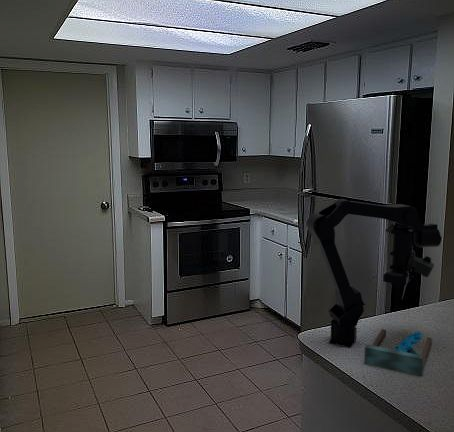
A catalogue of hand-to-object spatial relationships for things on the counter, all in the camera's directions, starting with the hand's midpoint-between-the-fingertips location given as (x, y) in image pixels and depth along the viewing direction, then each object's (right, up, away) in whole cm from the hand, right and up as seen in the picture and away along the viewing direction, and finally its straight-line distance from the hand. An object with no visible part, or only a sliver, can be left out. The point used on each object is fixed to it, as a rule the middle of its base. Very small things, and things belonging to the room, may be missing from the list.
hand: (400, 299), depth 135 cm
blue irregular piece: (-3, -14, -12) cm, 19 cm away
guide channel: (-3, -13, -8) cm, 16 cm away
